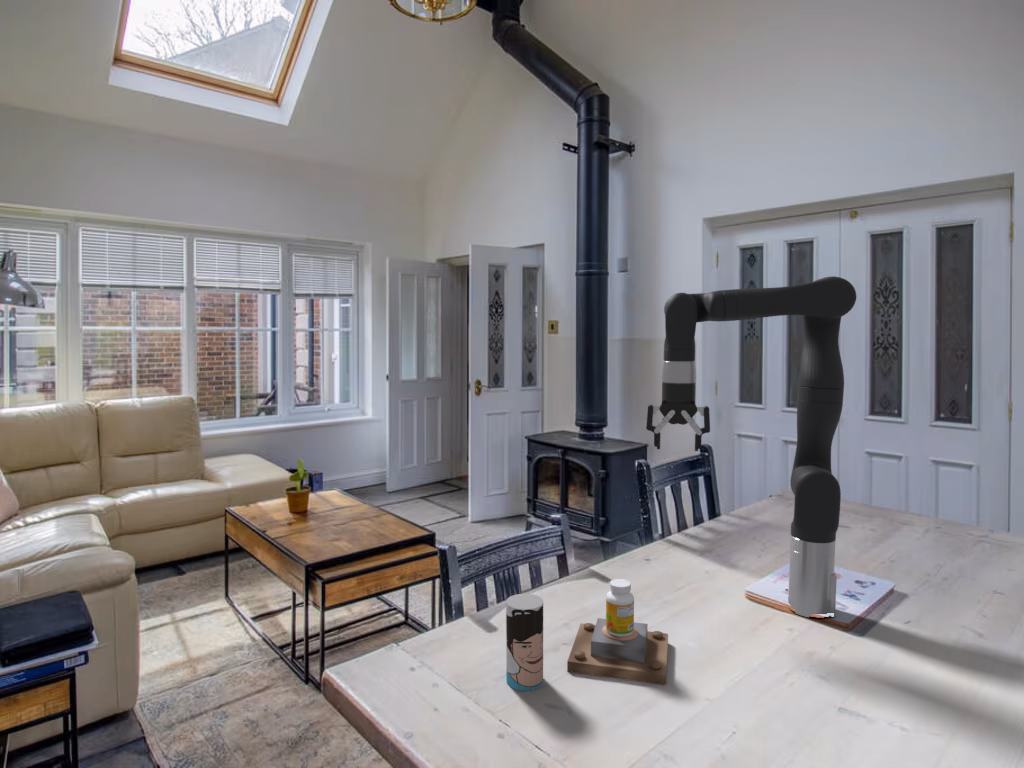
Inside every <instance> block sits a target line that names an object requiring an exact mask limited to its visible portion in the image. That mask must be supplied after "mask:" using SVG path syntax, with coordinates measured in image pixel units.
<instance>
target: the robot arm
mask: <svg viewBox="0 0 1024 768" xmlns="http://www.w3.org/2000/svg"><path fill="white" fill-rule="evenodd" d="M856 301H857V292H856V288H855V287H854V285H853V284H852V283H851V282H850V281H849V280H847V279H845V278H843V277H839V276H826V277H822V278H818V279H816V280H814V281H811V282H805V283H801V284H796V285H789V286H781V287H759V288H758V287H757V288H756V287H755V288H752V287H751V288H736V289H735V288H734V289H733V288H732V289H721V290H716V291H715V290H714V291H710V292H700V293H699V292H698V293H686V292H676V293H675V294H672V295H671V296H670V297H669V298H668V299H666V302H665V303H664V307H663V312H664V316H665V317H664V319H665V321H664V323H665V327H664V328H665V337H664V342H663V363H662V370H661V371H662V375H661V404H660V405H654V404H652V403H650V404H648V406H647V415H646V427H645V428H646V430H647V431H649V432H652V433H653V445H654V448H656V450H661V432H662V430H663V428H664V427H665V426H666V425H667V423H669V424H670V425H680V426H681V425H687V424H688V425H689V426H690V427H691V428H692V430H693V431H694V432H695V434H694V452H698V451H699V450H700V449H702V436H703V435H704V434H709V433H710V432H711V421H710V419H711V418H710V407H709V406H708V405H704V406H697V405H696V388H697V387H696V383H697V370H696V369H697V368H696V337H695V336H696V329H697V324H698V323H703V322H704V323H705V322H733V321H734V322H735V321H745V320H754V319H755V320H756V319H763V318H771V317H780V316H802V323H803V324H802V325H803V328H802V329H803V344H802V350H801V357H800V367H799V376H798V384H797V398H796V399H797V400H796V435H797V436H796V449H795V453H794V459H793V465H792V469H791V475H790V489H791V491H792V493H793V495H794V506H793V507H794V508H793V519H792V521H791V524H790V545H789V546H790V547H789V569H788V571H789V573H788V595H787V599H788V600H787V601H788V602H787V603H789V604H790V605H791V607H793V609H795V610H796V612H797V613H795V614H796V615H799V616H801V617H805V618H809V616H810V615H811V616H812V614H827V613H835V614H836V602H837V575H836V573H835V561H836V559H835V557H836V538H837V531H838V528H839V527H840V526H839V525H840V515H841V514H840V512H841V511H840V510H841V496H842V495H841V494H842V493H841V486H840V482H839V480H838V479H837V478H836V477H835V476H834V475H833V472H832V445H833V439H834V436H835V434H836V431H837V428H838V425H839V422H840V419H841V417H842V411H843V406H844V405H843V404H844V391H845V390H844V388H845V374H844V368H843V363H842V358H841V352H840V345H839V338H840V337H839V336H840V335H839V334H840V328H841V320H842V317H843V316H845V315H847V314H848V313H849V312H851V310H852V309H853V308H854V306H855V304H856ZM658 411H659V412H660V413H661V415H662V416H663V418H662V419H661V420H660V421H659V423H658V424H657V425H656V426H655V425H653V421H654V415H656V414H657V412H658ZM697 412H698V413H699V414H700V416H701V417H703V427H700V426H699V425H698V423H697V422H696V421H695V420H694V416H695V415H696V414H697Z"/></svg>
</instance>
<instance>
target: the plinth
mask: <svg viewBox="0 0 1024 768" xmlns="http://www.w3.org/2000/svg"><path fill="white" fill-rule="evenodd" d="M648 628H649V627H648V623H642V622H636V621H634V631H633V633H632V634H631V635H629V636H625V637H618V636H614V635H611V634H610V633H608V632H607V630H606V618H602V617H601V618H600V617H598V618H597V619H596V623H595V624H593V623H592V622H586V623H580V624H579V627H578V630H577V632H576V636H575V639H574V642H573V643H572V646H571V647H572V648H571V650H570V652H569V656H568V658H567V662H566V663H567V664H566V665H567V666H566V667H567V669H566V670H567V672H568V673H575V674H583V675H590V676H596V677H598V676H599V677H604V678H610V679H617V680H618V679H619V680H626V681H632V682H633V681H634V682H641V683H648V684H653V685H654V684H655V685H662V686H666V685H667V670H668V668H667V667H668V666H667V665H668V649H669V648H668V647H669V633H666V632H662V631H659V630H654V631H648Z"/></svg>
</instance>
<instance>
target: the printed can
mask: <svg viewBox="0 0 1024 768" xmlns="http://www.w3.org/2000/svg"><path fill="white" fill-rule="evenodd" d="M505 603H506V604H505V608H506V610H505V618H506V619H505V623H506V626H505V627H506V628H505V629H506V630H505V631H506V632H505V637H506V638H505V639H506V647H505V648H506V649H505V651H506V652H505V653H506V657H505V658H506V664H505V665H506V667H505V669H506V672H505V673H506V675H505V676H506V679H505V680H506V684H507V685H508V686H509V687H510V688H511V689H513V690H516V691H521V692H525V691H526V692H528V691H534V690H537V689H539V688H541V686H542V685H543V683H544V599H543V598H542V597H541V596H539V595H535V594H531V593H519V594H514V595H511V596H508V598H507V599H506V601H505Z"/></svg>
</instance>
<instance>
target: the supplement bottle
mask: <svg viewBox="0 0 1024 768" xmlns="http://www.w3.org/2000/svg"><path fill="white" fill-rule="evenodd" d="M631 588H632V587H631V581H629V580H627V579H622V578H616V579H611V580H610V582H609V590H610V591H608V592H607V594H606V599H605V607H606V608H605V609H606V610H605V619H606V630H607V632H608V633H610V634H611V635H614V636H618V637H625V636H629V635H631V634H632V633H633V631H634V622H635V596H634V594H633V593H632V592H631V590H632V589H631Z"/></svg>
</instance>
